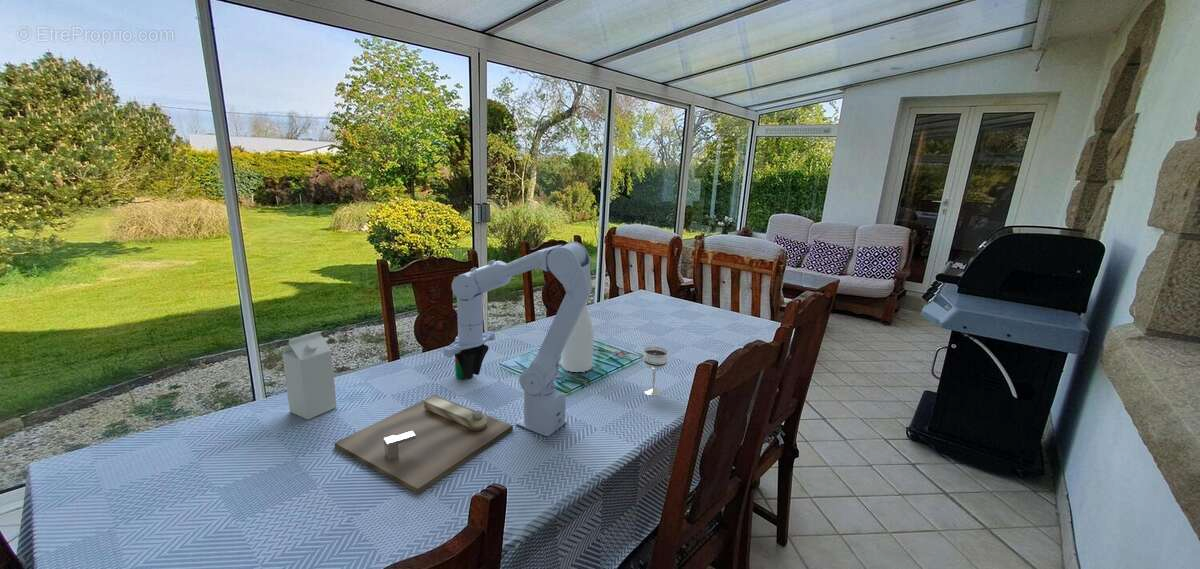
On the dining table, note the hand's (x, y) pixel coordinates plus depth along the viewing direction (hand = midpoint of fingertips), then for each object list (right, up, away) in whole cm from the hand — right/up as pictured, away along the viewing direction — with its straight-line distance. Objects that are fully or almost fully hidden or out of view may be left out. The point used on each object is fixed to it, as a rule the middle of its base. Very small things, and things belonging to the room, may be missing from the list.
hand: (471, 375), depth 111 cm
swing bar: (-3, -9, -4) cm, 10 cm away
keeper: (-9, -12, -18) cm, 24 cm away
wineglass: (+46, -8, +17) cm, 50 cm away
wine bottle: (+24, -4, +30) cm, 39 cm away
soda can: (-8, -5, +21) cm, 23 cm away
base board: (-7, -12, -10) cm, 17 cm away
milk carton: (-38, -8, -1) cm, 39 cm away
